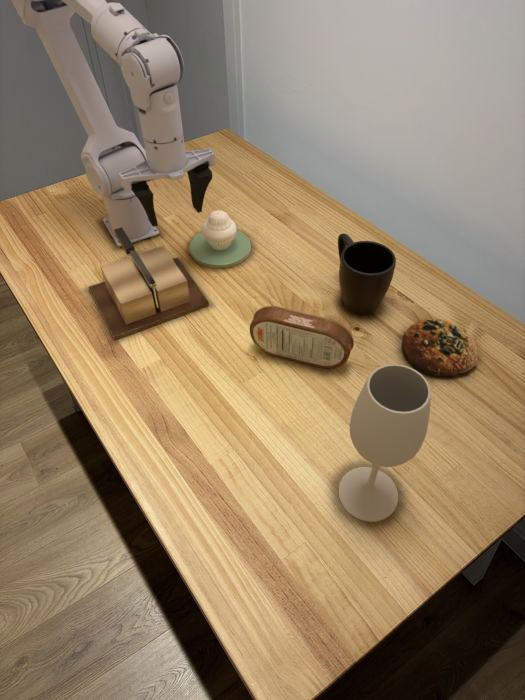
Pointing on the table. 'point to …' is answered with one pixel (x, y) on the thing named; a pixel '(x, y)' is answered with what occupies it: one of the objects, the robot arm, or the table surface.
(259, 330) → the tin
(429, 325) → the bread roll
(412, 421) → the wineglass
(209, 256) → the plate
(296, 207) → the table surface
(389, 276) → the mug
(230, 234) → the muffin
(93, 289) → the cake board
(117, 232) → the knife
